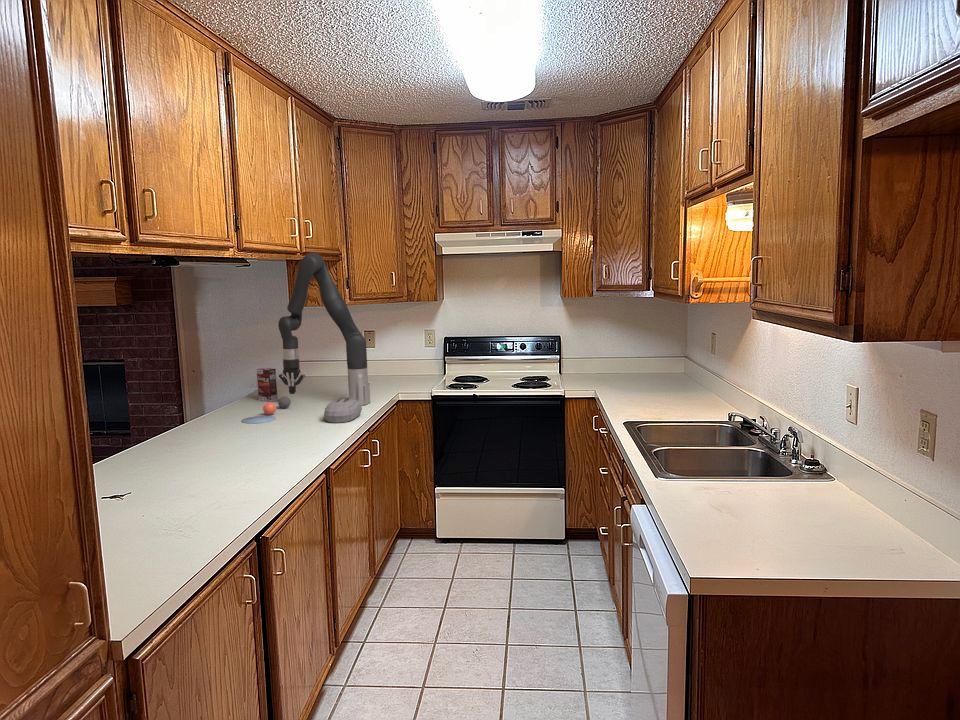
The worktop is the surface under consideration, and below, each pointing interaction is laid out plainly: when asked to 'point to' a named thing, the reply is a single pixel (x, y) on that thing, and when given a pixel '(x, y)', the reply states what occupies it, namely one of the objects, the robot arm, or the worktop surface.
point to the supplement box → (267, 384)
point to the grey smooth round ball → (284, 402)
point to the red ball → (269, 408)
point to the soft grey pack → (342, 410)
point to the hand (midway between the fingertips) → (292, 393)
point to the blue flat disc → (258, 419)
